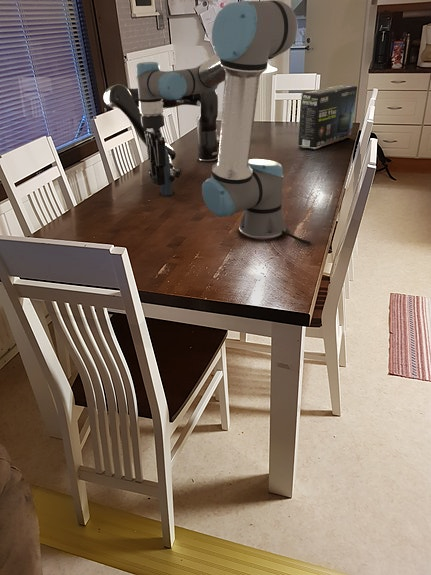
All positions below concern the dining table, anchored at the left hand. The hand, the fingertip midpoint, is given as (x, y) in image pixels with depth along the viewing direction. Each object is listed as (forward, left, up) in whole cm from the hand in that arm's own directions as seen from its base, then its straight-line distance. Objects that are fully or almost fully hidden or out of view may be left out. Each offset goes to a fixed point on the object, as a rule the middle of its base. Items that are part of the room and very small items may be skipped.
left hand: (165, 179), depth 179 cm
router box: (-95, +50, -7) cm, 108 cm away
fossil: (-88, -2, -7) cm, 88 cm away
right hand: (+15, +5, +4) cm, 16 cm away
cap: (+15, +5, +6) cm, 17 cm away
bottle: (-2, -1, -7) cm, 7 cm away
